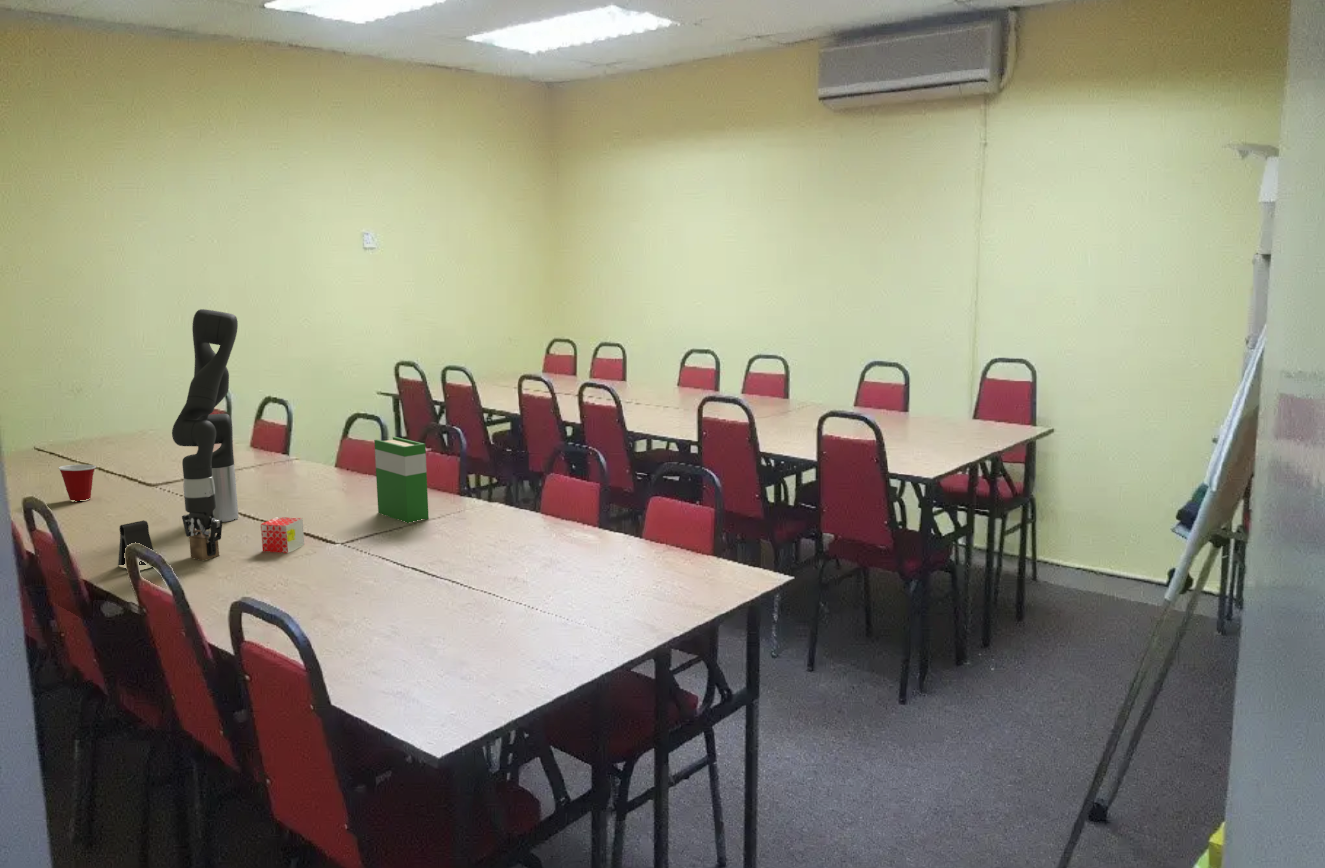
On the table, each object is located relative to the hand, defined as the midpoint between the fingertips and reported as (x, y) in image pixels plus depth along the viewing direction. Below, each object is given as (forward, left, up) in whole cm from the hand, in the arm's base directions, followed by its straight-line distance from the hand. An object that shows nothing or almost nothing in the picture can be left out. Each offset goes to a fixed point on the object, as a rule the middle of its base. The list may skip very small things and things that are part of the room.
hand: (204, 553), depth 257 cm
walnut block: (0, 0, -1) cm, 1 cm away
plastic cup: (-93, +21, -1) cm, 95 cm away
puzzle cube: (+12, +16, -1) cm, 20 cm away
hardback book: (+17, +58, -1) cm, 60 cm away
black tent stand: (-8, -14, -1) cm, 16 cm away
